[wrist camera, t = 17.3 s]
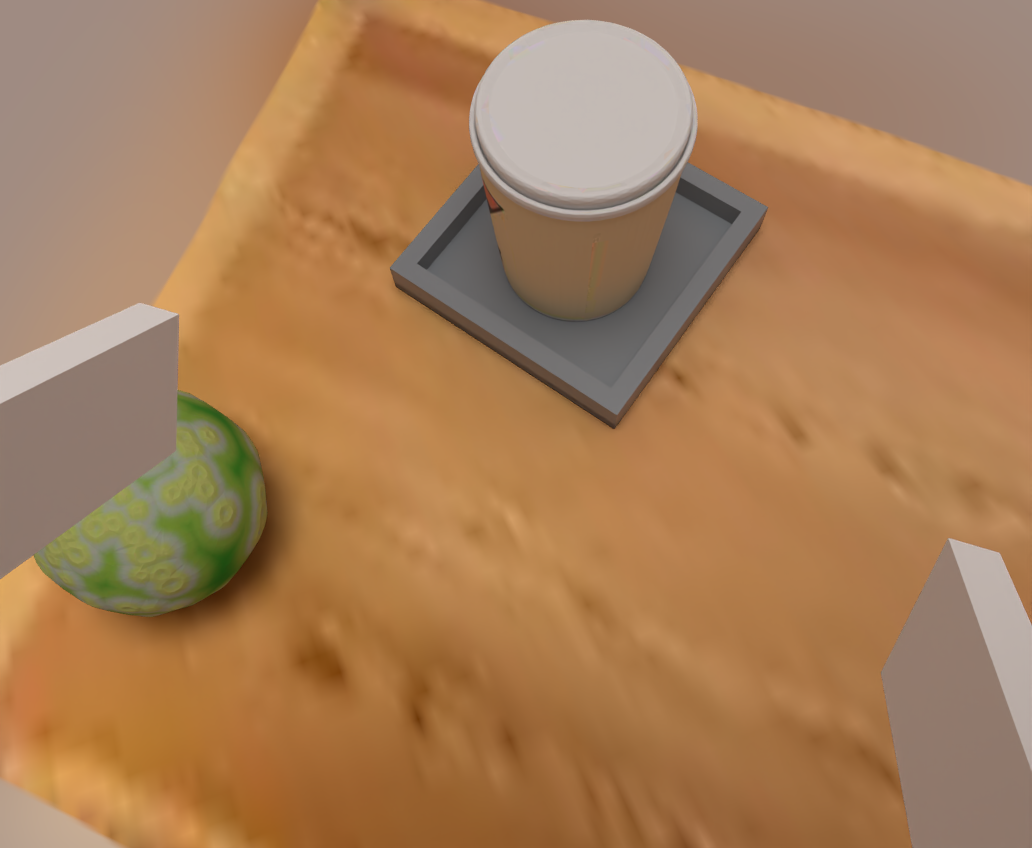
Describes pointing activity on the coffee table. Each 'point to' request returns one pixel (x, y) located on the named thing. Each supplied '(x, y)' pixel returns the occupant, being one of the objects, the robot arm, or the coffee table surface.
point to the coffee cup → (581, 161)
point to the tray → (594, 343)
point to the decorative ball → (169, 524)
